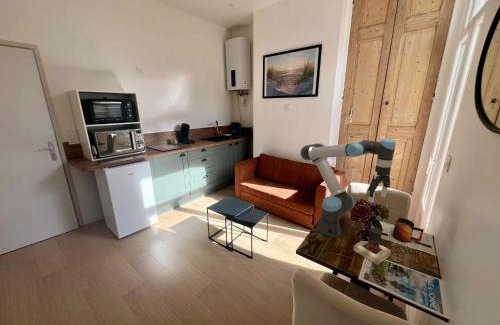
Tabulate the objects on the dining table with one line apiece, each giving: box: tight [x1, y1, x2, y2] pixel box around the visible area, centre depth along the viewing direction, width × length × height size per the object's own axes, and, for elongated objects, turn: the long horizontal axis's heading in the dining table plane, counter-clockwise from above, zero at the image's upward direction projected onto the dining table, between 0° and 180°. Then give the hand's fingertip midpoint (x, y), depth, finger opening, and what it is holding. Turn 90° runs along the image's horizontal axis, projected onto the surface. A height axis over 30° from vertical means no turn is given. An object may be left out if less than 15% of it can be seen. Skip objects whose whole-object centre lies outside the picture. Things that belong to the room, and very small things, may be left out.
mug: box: [392, 217, 425, 244], centre depth 132 cm, size 10×14×12 cm
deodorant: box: [366, 227, 383, 254], centre depth 118 cm, size 6×6×15 cm
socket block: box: [352, 240, 392, 266], centre depth 120 cm, size 14×14×4 cm
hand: (377, 199), depth 124 cm, fingers open, 13 cm apart
